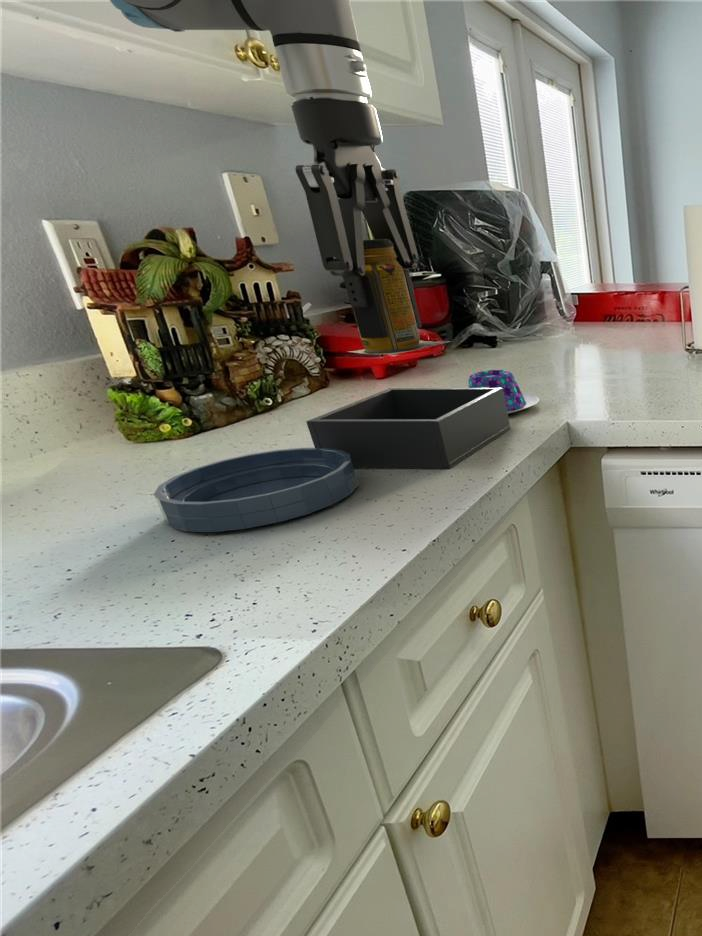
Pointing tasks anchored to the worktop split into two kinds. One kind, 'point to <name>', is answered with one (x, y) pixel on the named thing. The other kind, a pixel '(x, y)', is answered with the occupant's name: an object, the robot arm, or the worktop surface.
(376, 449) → the bin
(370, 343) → the condiment
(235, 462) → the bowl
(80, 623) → the worktop surface
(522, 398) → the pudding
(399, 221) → the robot arm
